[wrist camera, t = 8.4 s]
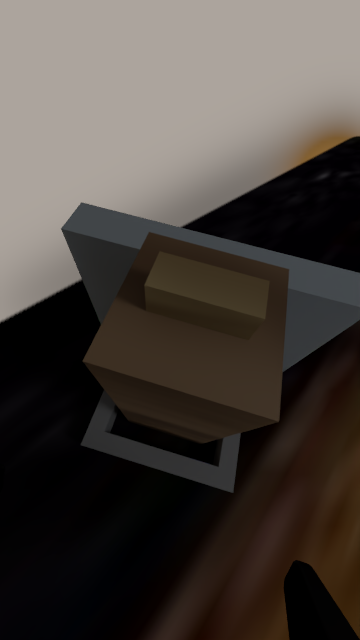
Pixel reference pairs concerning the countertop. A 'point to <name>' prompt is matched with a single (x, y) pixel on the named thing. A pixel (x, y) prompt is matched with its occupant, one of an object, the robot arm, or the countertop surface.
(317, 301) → the grey stool
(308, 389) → the countertop surface
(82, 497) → the countertop surface
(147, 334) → the brown box with handle
